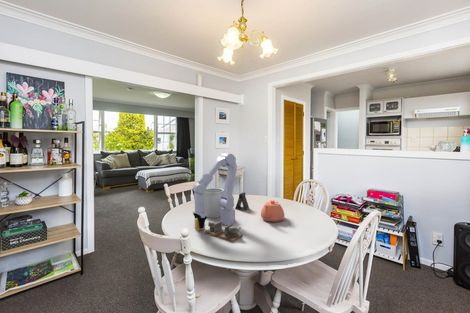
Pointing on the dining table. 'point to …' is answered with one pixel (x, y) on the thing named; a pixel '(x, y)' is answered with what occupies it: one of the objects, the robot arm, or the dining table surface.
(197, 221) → the coupler block
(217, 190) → the utensil holder
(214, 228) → the shaft stand
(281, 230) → the dining table surface
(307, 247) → the dining table surface
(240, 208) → the black a-shaped stand
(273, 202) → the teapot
